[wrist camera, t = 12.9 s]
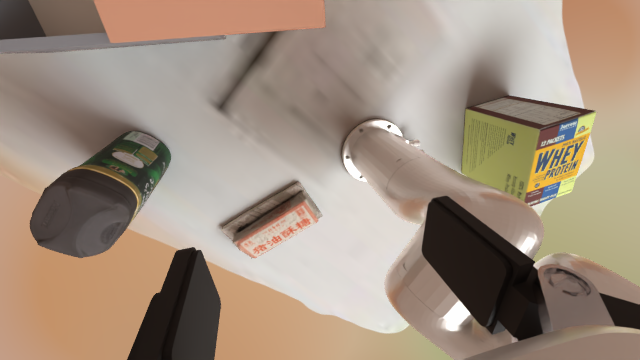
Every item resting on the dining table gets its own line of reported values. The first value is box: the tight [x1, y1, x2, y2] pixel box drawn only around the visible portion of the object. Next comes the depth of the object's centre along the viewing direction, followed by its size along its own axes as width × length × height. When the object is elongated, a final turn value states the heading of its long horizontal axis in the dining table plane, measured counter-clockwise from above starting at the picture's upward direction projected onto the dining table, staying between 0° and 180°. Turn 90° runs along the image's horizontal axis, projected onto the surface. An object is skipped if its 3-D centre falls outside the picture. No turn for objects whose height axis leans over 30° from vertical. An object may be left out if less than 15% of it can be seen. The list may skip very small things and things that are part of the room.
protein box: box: [462, 96, 596, 206], centre depth 49 cm, size 10×15×16 cm
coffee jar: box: [30, 131, 171, 258], centre depth 34 cm, size 10×8×19 cm
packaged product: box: [221, 182, 322, 258], centre depth 51 cm, size 18×5×10 cm
